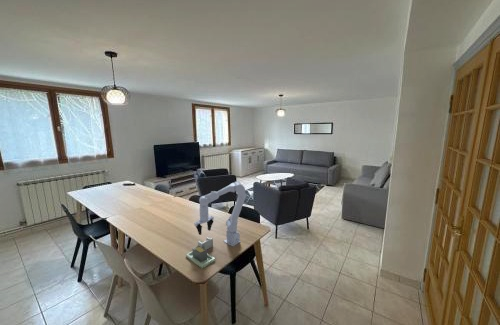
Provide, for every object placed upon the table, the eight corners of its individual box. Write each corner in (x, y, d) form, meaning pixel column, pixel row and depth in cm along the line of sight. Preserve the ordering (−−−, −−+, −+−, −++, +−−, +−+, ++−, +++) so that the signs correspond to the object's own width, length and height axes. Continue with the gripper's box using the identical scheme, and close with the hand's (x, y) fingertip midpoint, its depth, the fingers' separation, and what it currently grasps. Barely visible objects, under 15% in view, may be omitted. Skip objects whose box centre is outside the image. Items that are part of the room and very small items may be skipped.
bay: (212, 246, 139) (212, 238, 138) (203, 251, 133) (203, 243, 132) (207, 243, 143) (207, 235, 142) (198, 247, 137) (197, 239, 136)
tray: (215, 260, 123) (214, 258, 123) (202, 268, 116) (201, 266, 116) (198, 250, 134) (198, 247, 134) (186, 256, 127) (185, 254, 127)
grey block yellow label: (207, 259, 124) (207, 250, 124) (201, 262, 121) (200, 254, 120) (198, 253, 130) (198, 245, 129) (192, 256, 127) (192, 248, 126)
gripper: (209, 209, 144) (209, 226, 146) (191, 215, 134) (192, 234, 136) (215, 211, 140) (215, 229, 142) (197, 218, 129) (198, 237, 131)
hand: (204, 232), depth 138 cm, fingers open, 7 cm apart
